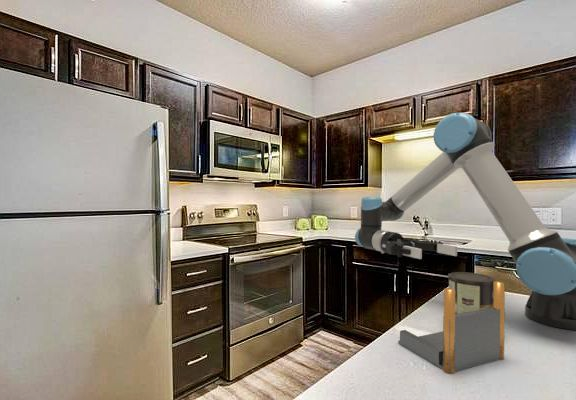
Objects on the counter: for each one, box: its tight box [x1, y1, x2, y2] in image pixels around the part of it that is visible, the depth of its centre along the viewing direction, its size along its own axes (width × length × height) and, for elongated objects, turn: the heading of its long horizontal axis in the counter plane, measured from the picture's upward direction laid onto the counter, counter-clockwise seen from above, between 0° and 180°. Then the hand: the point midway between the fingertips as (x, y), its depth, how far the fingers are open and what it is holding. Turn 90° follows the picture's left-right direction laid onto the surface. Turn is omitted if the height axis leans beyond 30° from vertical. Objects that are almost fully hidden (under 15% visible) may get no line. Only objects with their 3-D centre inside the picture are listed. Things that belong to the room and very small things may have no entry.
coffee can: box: [447, 271, 496, 314], centre depth 82 cm, size 10×10×14 cm
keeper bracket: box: [398, 280, 506, 375], centre depth 71 cm, size 16×14×16 cm
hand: (439, 252), depth 91 cm, fingers open, 13 cm apart
